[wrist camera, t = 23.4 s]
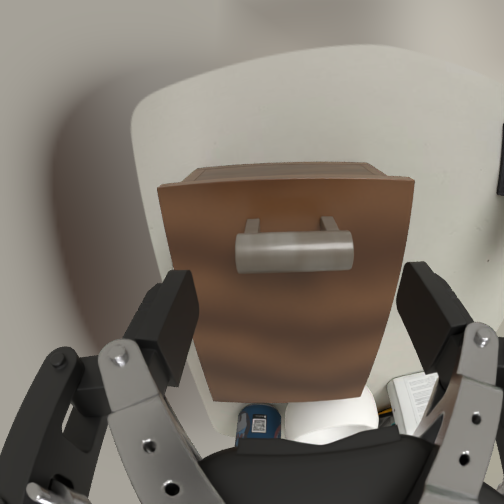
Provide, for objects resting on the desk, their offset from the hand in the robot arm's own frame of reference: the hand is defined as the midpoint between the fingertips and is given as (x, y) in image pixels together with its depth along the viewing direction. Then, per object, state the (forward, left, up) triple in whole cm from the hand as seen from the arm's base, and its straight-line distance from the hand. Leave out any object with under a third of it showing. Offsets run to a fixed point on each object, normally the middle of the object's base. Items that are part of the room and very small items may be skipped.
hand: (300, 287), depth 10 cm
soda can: (+36, -4, -15) cm, 39 cm away
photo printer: (+30, +21, -15) cm, 40 cm away
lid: (+8, 0, -7) cm, 10 cm away
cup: (+28, +6, -15) cm, 33 cm away
